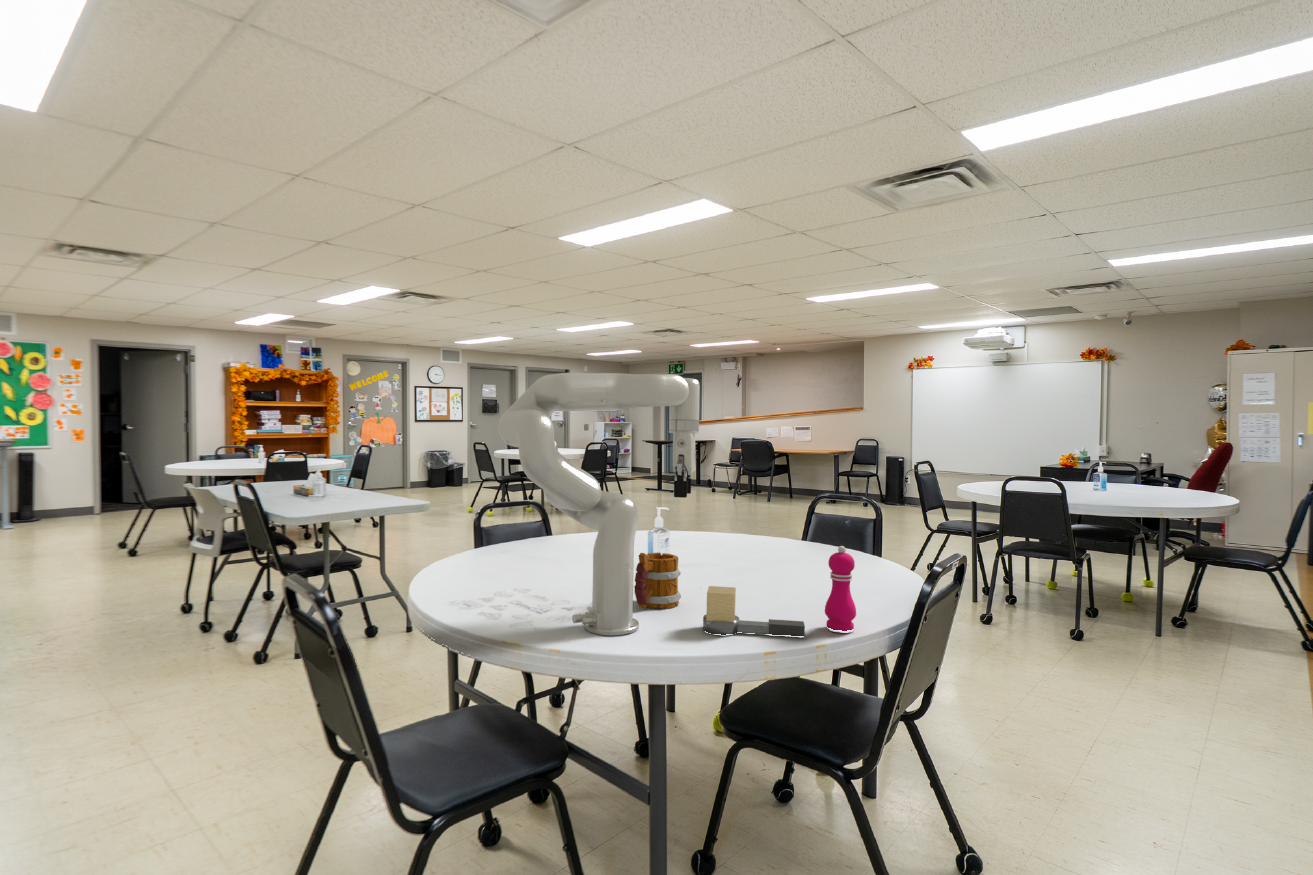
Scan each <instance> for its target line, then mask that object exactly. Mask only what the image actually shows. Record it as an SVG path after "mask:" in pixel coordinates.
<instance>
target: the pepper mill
mask: <svg viewBox="0 0 1313 875" xmlns="http://www.w3.org/2000/svg"><path fill="white" fill-rule="evenodd" d="M827 563H828V567H829V569H830V570H831V572H830V575H829V576H830V577H829V578H830V579H831V581H832V582H831V584H832V585H831V591H830V594H829V596H828V598H827V599H826V600H827V601H826V603H825V606H824V614H825V616H826V617H827V618H828V619H827V620H826V626H827V627H828V628H831V629H833V630H842V631H847V630H852V629H854V628H855V624H854V622H853V620H854V619H855V618H856V617H857V608H856V603H855V601H854V600H853V597H852V594H851V581H852V580H853V574H852V571H853V570H854V569H855V568H856V567H855V566H856V565H855V560H854V557H853V556H852V555H850V554H849V553H847V552H846V547H845V546H844V545H840V546H838V548H837V552H834V553H832V554H831V555H830V556H829V558H828V562H827ZM854 630H855V629H854Z"/></svg>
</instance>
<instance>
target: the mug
mask: <svg viewBox="0 0 1313 875" xmlns="http://www.w3.org/2000/svg"><path fill="white" fill-rule="evenodd" d="M635 571H636V572H635V577H634V583H635V584H634V585H633V589H634V595H635V599H636V603H637V604H638V605H639V608H640V609H646V608H648V609H653V608H655V610H656V608H658V609H659V610H663V609H666V608H668V609H674V608H675V607H679V605H678V604H680V602H679V600H680V599H681V598H682V595H681V593H680V591H679V590H678V589H679V582H678V581H679V576H680V575H681V574H682V573H681V571H680V569H679V557H678V556H677V555H675V554H671V553H665V552H664V553H661V552H650V553H647V554H646V552H640V553H639V555H638V563H637V565H636V568H635Z"/></svg>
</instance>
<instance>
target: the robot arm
mask: <svg viewBox="0 0 1313 875" xmlns="http://www.w3.org/2000/svg"><path fill="white" fill-rule="evenodd" d="M700 388H701V387H700V382H699V380H698V379H696V378H691V377H683V376H681V375H679V374H673V373H672V374H671V373H669V374H668V373H667V374H665V373H664V374H663V373H661V374H660V373H659V374H658V373H656V374H653V373H651V374H646V373H645V374H644V373H643V374H641V373H640V374H639V373H636V374H635V373H634V374H633V373H618V372H615V373H614V372H611V373H609V372H600V373H599V372H598V373H596V372H595V373H594V372H592V373H591V372H590V373H589V372H587V373H585V372H562V373H561V372H559V373H554V374H547V375H543V376H541V377H539V378H538V379H537V380H536V381H535V382H533V384H531V385H530V386H529V387H528V388H527V389H526V390H525V391H524V392H523V393H522V395H521V396H519V397H518V398H517V399H516V401H514V403H512V405H510V406H509V408H508V409H506V411H504V412H503V414H502V416H501V417H500V419H499V420H498V421H499V422H498V426H497V431H498V435H499V438H500V439H501V440H502V442H504V443H505V444H506V445H507V446H509V447H513V448H518V455H519V462H520V465H521V468H522V470H523V472H524V474H525V475H526V477H527V478H528V479H529V480H530V481H531V482H532V483H534V484H535V485H536V486H538V488H540V489H542V490H543V495H544V497H545V499H546V500H547V501H548V503H549V504H550V505H551V506H553V507H554V508H555V509H557V510H559V512H562V513H563V514H565V515H566V516H568V517H570V518H571V519H573V520H574V521H576V522H577V523H579V524H581V525H582V526H584V527H587V528H589V529H591V530H592V529H593V530H596V531H597V534H596V539H595V541H594V545H593V549H592V551H593V552H592V603H591V604H592V605H591V607H588V608H587V611H585V612H584V613H578V614H576V613H575V614H573V615H572V616H571V620H572V621H571V622H572V623H573V624H578V623H579V624H580V623H581V624H582V625H585V630H587V631H588V632H590V633H593V634H595V635H601V636H622V635H628V634H632V633H634V632H636V631H637V630H638V629H639V627H640V623H639V621H638V620H637V619H636V618H634V617H633V616H634V615H633V612H634V610H633V609H634V607H633V606H634V605H633V604H634V599H633V598H634V566H635V564H634V552H635V551H634V550H635V540H636V539H635V538H636V532H637V527H638V522H639V511H638V507H637V505H636V503H635V502H634V501H633V500H632V499H631V498H630V497H629V496H626V495H624V494H622V493H617V492H612V491H604V490H602V488H601V486H600V483H599V482H598V480H597V479H596V478H595V476H593V475H592V474H591V473H589V472H587V471H586V470H584V469H582V468H581V467H579V466H578V465H576V464H575V463H573V462H572V461H570V460H569V459H568V458H566V456H564V455H563V454H561V453H560V452H559V451H558V449H557V445H556V444H555V427H554V423H553V421H552V419H551V416H552V415H553V413H554V412H583V411H584V412H585V411H586V412H587V411H615V410H617V411H618V410H626V409H627V410H628V409H634V408H635V409H636V408H646V407H647V408H648V407H650V408H653V407H655V408H656V407H669V409H668V410H669V413H668V415H669V416H668V418H669V421H668V433H669V434H673V435H672V437H673V438H672V439H673V440H672V471H673V473H674V474H675V475H674V480H673V497H674V498H680V499H681V498H684V499H685V498H687V497H688V495H689V494H691V493H692V473H694V472H695V471H696V434H700V432H699V431H700V391H701V390H700Z"/></svg>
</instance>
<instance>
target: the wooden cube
mask: <svg viewBox="0 0 1313 875" xmlns="http://www.w3.org/2000/svg"><path fill="white" fill-rule="evenodd" d="M707 587H708V589H707V591H706V614H707V615H706V614H705V615H706V621H717V622H733V623H734V621H735V615H736V597H737V596H736V594H737V592H736V591H737V590H736V587H735V586H732V587H731V586H719V585H718V586H717V585H716V586H715V585H708V586H707Z"/></svg>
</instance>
